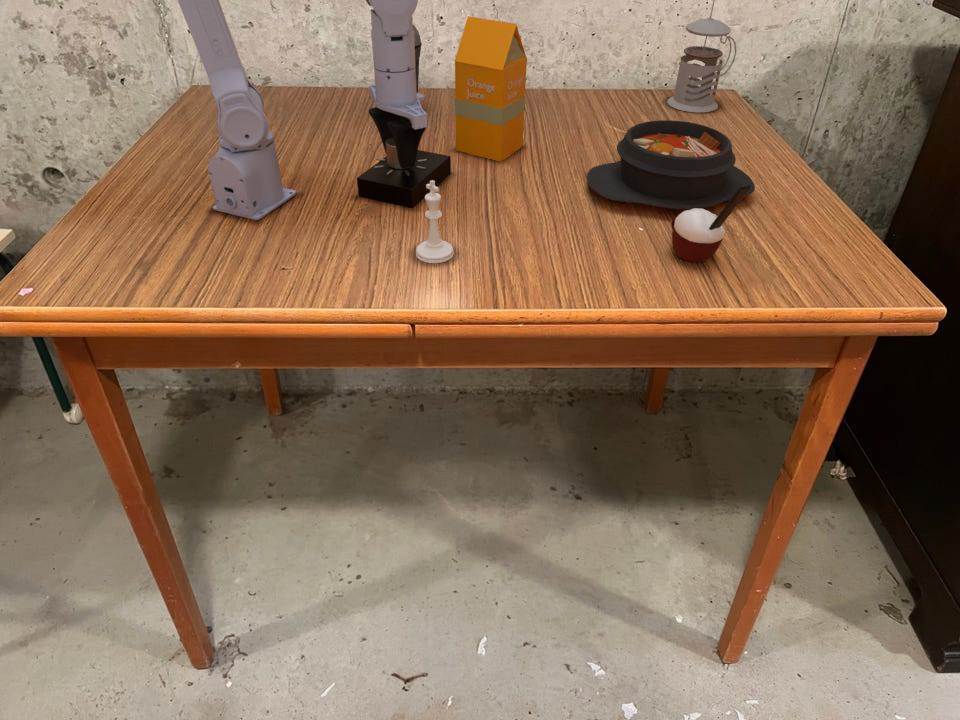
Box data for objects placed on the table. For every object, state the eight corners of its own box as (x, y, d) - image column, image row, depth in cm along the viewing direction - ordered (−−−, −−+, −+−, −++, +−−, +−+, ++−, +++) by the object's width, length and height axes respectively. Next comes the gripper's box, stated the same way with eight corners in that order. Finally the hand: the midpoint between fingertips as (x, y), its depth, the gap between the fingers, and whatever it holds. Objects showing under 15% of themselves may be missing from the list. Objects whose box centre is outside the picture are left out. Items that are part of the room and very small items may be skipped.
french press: (658, 97, 137) (683, -46, 121) (708, 92, 140) (739, -49, 124) (683, 114, 130) (713, -36, 114) (736, 109, 133) (772, -39, 117)
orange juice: (478, 135, 120) (480, 11, 108) (523, 146, 117) (529, 18, 104) (454, 150, 115) (453, 21, 103) (500, 162, 112) (504, 30, 99)
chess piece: (433, 240, 92) (431, 169, 85) (461, 252, 89) (461, 180, 83) (407, 254, 89) (403, 182, 82) (436, 267, 86) (433, 194, 80)
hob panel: (412, 208, 99) (411, 188, 97) (355, 196, 102) (352, 176, 100) (451, 174, 108) (450, 154, 106) (397, 163, 111) (396, 144, 109)
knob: (395, 171, 101) (393, 146, 99) (382, 162, 104) (380, 137, 101) (418, 165, 103) (417, 140, 101) (406, 156, 106) (404, 132, 103)
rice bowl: (659, 240, 92) (676, 154, 85) (704, 238, 93) (725, 153, 85) (681, 278, 85) (702, 188, 78) (730, 276, 86) (756, 186, 78)
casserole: (722, 163, 112) (735, 112, 107) (773, 217, 98) (790, 160, 93) (573, 169, 110) (578, 117, 105) (602, 225, 96) (610, 167, 90)
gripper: (445, 76, 91) (447, 172, 100) (397, 49, 101) (402, 139, 110) (398, 84, 89) (404, 183, 97) (352, 56, 98) (361, 148, 107)
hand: (400, 161), depth 103 cm, fingers closed on knob, 4 cm apart
